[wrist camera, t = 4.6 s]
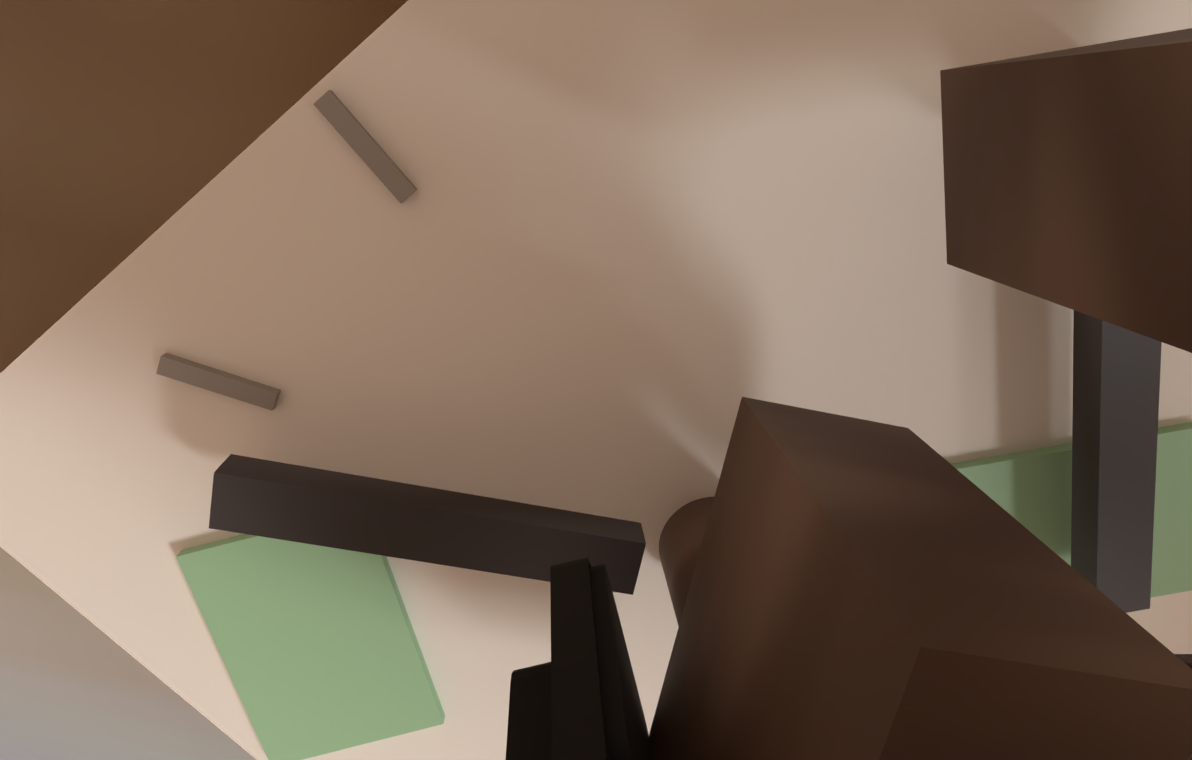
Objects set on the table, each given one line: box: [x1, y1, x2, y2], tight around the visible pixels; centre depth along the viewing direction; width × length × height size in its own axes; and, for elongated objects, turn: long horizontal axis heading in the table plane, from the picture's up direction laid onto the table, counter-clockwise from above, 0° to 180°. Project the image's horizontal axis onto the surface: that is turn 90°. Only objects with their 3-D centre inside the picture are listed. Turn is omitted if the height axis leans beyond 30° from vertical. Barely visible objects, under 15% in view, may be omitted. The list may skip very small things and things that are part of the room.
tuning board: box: [0, 0, 1192, 760], centre depth 16 cm, size 19×22×3 cm
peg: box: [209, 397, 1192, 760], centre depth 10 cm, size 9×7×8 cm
